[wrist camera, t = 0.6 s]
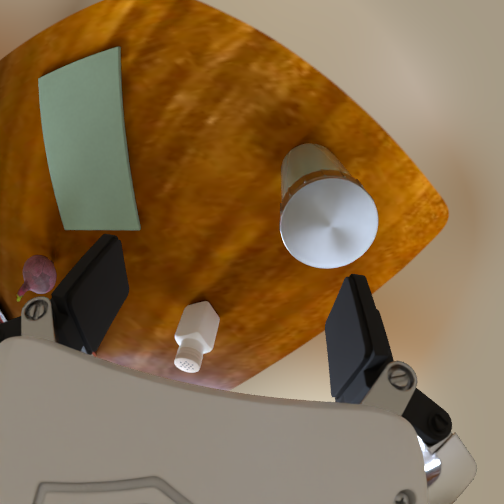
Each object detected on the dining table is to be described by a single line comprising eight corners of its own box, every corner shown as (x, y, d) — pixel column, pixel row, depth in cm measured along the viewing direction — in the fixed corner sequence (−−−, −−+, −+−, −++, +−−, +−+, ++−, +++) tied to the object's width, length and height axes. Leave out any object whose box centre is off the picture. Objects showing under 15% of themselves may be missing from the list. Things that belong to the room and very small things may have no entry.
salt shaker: (208, 298, 37) (191, 354, 29) (221, 318, 39) (209, 373, 31) (184, 304, 38) (164, 357, 30) (198, 323, 40) (182, 375, 32)
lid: (281, 166, 17) (281, 174, 15) (377, 173, 16) (386, 182, 15) (278, 252, 20) (277, 267, 18) (361, 255, 20) (368, 270, 18)
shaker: (281, 141, 25) (284, 174, 16) (342, 145, 25) (381, 182, 15) (280, 198, 29) (280, 261, 19) (336, 201, 28) (364, 264, 18)
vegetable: (34, 246, 36) (-1, 282, 27) (55, 243, 35) (16, 282, 26) (49, 276, 39) (18, 313, 30) (70, 275, 38) (37, 316, 29)
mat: (40, 78, 21) (38, 78, 21) (120, 46, 20) (118, 46, 20) (66, 228, 33) (64, 230, 33) (141, 228, 32) (139, 230, 32)
